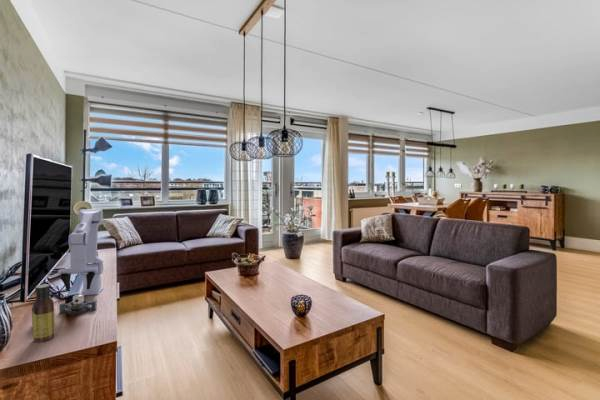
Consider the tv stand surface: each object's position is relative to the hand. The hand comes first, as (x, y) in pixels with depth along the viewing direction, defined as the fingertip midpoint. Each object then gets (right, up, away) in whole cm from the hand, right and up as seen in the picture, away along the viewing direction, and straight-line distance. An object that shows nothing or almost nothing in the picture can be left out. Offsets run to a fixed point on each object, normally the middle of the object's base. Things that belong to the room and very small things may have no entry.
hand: (78, 289), depth 135 cm
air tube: (0, -10, 0) cm, 10 cm away
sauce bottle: (+5, -11, -24) cm, 27 cm away
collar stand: (0, -10, 0) cm, 10 cm away
